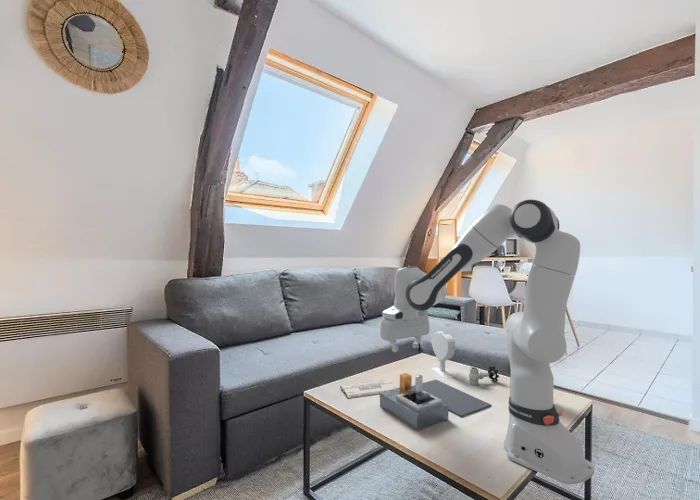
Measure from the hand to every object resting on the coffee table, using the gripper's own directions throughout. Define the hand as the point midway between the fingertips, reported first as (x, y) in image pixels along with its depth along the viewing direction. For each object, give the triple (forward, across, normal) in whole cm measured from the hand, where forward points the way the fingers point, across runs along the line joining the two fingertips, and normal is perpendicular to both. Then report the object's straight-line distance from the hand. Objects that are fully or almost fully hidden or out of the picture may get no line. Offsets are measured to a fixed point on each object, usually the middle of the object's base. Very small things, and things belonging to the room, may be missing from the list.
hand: (405, 349), depth 131 cm
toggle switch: (+21, 0, +4) cm, 22 cm away
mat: (+21, -20, +1) cm, 29 cm away
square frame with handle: (+16, 0, +6) cm, 17 cm away
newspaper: (+22, +2, -21) cm, 31 cm away
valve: (+21, -44, -1) cm, 49 cm away
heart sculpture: (+21, -38, -19) cm, 48 cm away
